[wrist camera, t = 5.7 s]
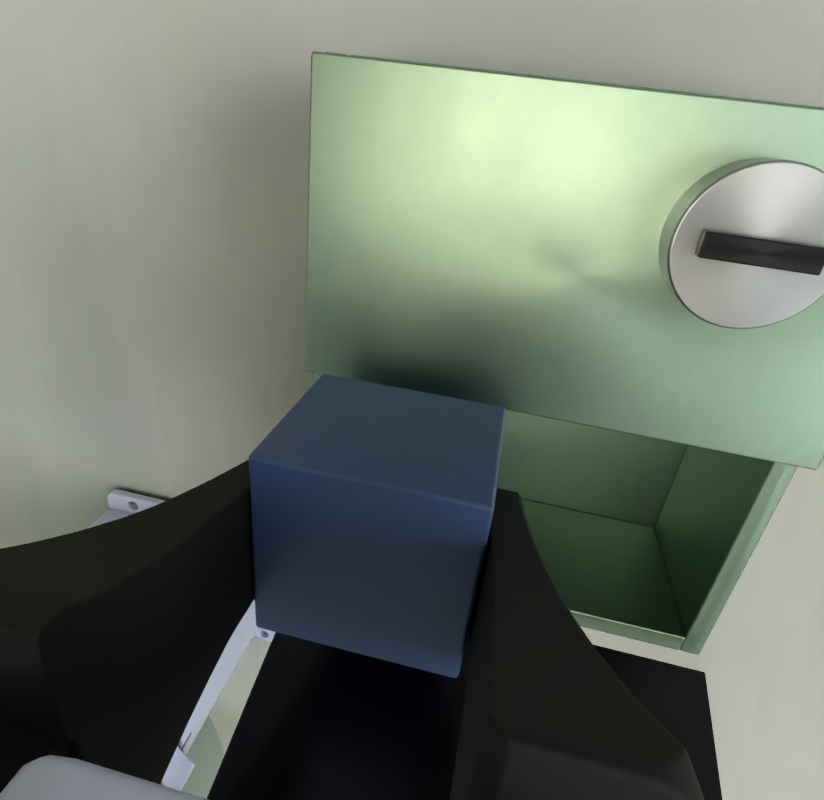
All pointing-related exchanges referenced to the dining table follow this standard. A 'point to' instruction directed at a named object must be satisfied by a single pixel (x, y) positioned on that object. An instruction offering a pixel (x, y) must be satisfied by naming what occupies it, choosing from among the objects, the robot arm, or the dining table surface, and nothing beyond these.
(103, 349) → the dining table surface
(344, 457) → the navy cube
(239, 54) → the dining table surface
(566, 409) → the washer
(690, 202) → the white disc with bar
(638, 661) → the lid
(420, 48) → the dining table surface
